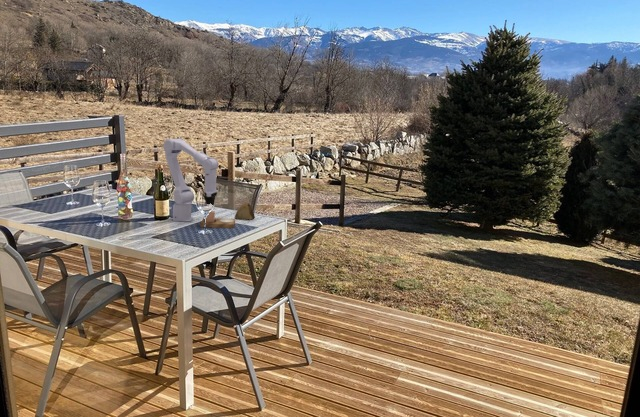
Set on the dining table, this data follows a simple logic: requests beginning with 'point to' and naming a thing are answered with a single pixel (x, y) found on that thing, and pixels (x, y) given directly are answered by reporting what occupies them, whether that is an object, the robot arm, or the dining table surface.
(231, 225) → the walnut board
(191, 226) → the dining table surface
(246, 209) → the rock
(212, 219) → the terracotta block
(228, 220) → the cream disc
